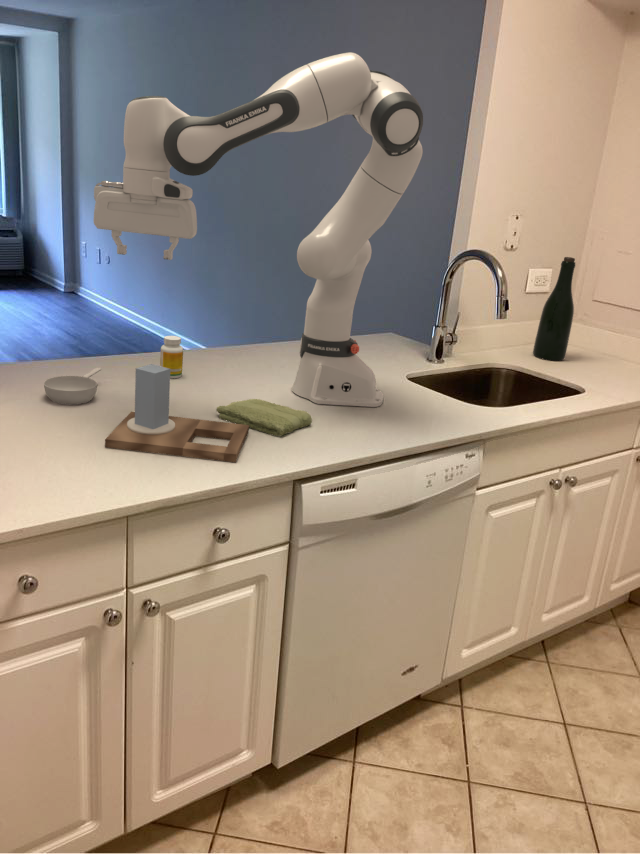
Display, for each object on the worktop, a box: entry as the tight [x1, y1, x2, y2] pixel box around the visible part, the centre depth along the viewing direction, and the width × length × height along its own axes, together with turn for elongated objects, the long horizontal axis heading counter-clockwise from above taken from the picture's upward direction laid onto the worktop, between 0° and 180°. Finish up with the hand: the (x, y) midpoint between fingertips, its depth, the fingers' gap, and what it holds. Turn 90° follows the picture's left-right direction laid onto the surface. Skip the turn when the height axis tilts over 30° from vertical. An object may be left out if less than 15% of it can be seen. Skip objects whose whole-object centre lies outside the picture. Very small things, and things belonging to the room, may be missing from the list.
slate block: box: [134, 363, 171, 429], centre depth 138 cm, size 4×4×11 cm
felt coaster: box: [127, 418, 175, 435], centre depth 140 cm, size 9×9×1 cm
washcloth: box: [216, 398, 313, 437], centre depth 154 cm, size 13×18×3 cm
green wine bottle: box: [532, 256, 576, 362], centre depth 237 cm, size 10×10×33 cm
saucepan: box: [43, 367, 102, 406], centre depth 158 cm, size 11×18×4 cm, turn 169°
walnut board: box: [104, 411, 250, 463], centre depth 139 cm, size 24×16×2 cm, turn 87°
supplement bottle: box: [159, 335, 184, 379], centre depth 177 cm, size 5×5×10 cm
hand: (144, 256), depth 147 cm, fingers open, 8 cm apart
